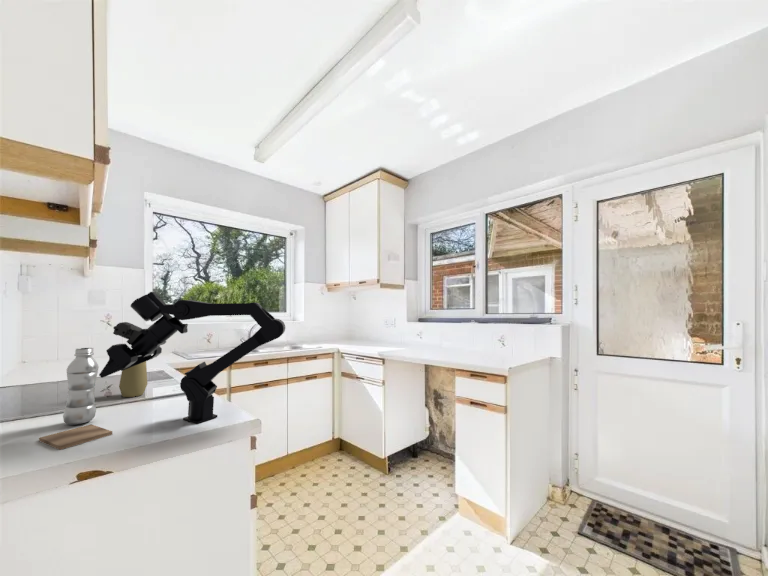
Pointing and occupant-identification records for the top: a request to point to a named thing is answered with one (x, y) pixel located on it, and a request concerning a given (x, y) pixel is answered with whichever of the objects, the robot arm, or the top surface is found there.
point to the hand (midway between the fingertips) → (111, 372)
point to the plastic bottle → (81, 388)
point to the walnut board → (75, 436)
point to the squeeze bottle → (133, 380)
